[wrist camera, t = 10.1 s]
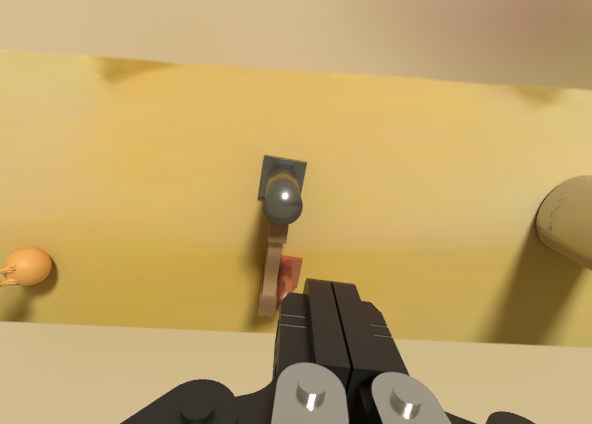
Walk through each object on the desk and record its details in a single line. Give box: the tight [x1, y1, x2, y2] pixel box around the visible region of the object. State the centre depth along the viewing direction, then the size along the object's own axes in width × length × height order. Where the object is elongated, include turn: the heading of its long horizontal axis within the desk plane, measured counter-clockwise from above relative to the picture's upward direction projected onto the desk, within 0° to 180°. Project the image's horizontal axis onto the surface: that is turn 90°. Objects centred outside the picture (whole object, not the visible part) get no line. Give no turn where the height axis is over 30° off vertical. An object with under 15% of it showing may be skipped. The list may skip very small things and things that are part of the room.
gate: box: [258, 220, 288, 317], centre depth 32 cm, size 9×2×7 cm, turn 171°
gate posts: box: [259, 155, 307, 312], centre depth 31 cm, size 6×15×10 cm, turn 170°
